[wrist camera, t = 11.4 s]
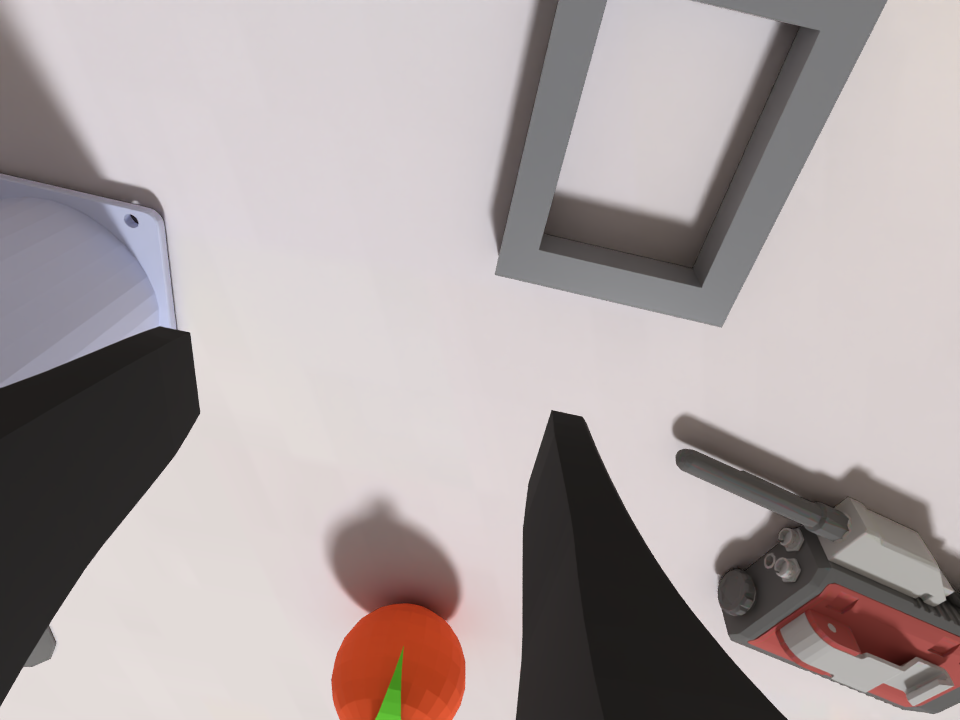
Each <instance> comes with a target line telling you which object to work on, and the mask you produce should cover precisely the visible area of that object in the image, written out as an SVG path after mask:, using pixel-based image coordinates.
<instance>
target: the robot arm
mask: <svg viewBox="0 0 960 720" xmlns="http://www.w3.org/2000/svg"><path fill="white" fill-rule="evenodd" d="M131 215H133V216H135V217H136V218H137V220H138V222H139V224H137V223H135V222H134V221H133V220H132V218H131ZM199 414H200V407H199V399H198V392H197V384H196V376H195V368H194V360H193V352H192V344H191V336H190V333H189V332H185V331H180V330H176V321H175V313H174V304H173V296H172V287H171V278H170V270H169V261H168V253H167V244H166V235H165V227H164V222H163V219H162V217H161V216H160V214H159V213H157V212H156V211H155V210H153V209H151V208H148V207H144V206H139V205H135V204H131V203H126V202H122V201H118V200H113V199H109V198H105V197H100V196H96V195H92V194H87V193H83V192H79V191H75V190H70V189H66V188H62V187H57V186H53V185H49V184H44V183H40V182H36V181H31V180H27V179H23V178H18V177H14V176H10V175H5V174H1V173H0V706H1V704H2V703H3V701H4V699H5V697H6V696H7V694H8V692H9V690H10V689H11V687H12V685H13V683H14V682H15V680H16V678H17V676H18V675H19V673H20V671H21V670H22V668H23V666H24V665H25V663H26V661H27V660H28V658H29V656H30V655H31V653H32V652H33V650H34V648H35V647H36V645H37V643H38V642H39V640H40V638H41V637H42V635H43V634H44V632H45V630H46V629H47V627H48V625H49V624H50V622H51V621H52V619H53V617H54V616H55V614H56V613H57V611H58V610H59V608H60V607H61V605H62V603H63V602H64V600H65V599H66V597H67V596H68V594H69V593H70V591H71V590H72V588H73V587H74V585H75V584H76V582H77V581H78V579H79V578H80V576H81V574H82V573H83V571H84V570H85V568H86V567H87V566H88V564H89V563H90V562H91V560H92V559H93V558H94V556H95V555H96V554H97V552H98V551H99V550H100V548H101V547H102V546H103V544H104V543H105V542H106V541H107V540H108V538H109V537H110V536H111V535H112V533H113V532H114V531H115V530H116V528H117V527H118V526H119V525H120V523H121V522H122V521H123V520H124V519H125V517H126V516H127V515H128V514H129V512H130V511H131V510H132V509H133V507H134V506H135V505H136V504H137V503H138V501H139V500H140V499H141V498H142V496H143V495H144V494H145V493H146V491H147V490H148V489H149V488H150V486H151V485H152V484H153V483H154V481H155V480H156V479H157V478H158V476H159V475H160V474H161V473H162V471H163V470H164V469H165V468H166V466H167V465H168V464H169V462H170V461H171V460H172V459H173V457H174V456H175V455H176V453H177V451H178V450H179V448H180V447H181V445H182V443H183V442H184V440H185V438H186V437H187V435H188V433H189V432H190V430H191V428H192V426H193V425H194V423H195V421H196V419H197V418H198V416H199ZM516 720H788V719H787V718H786V717H785V716H784V715H783V714H782V713H781V712H780V711H779V710H778V709H777V708H776V707H775V706H774V705H773V704H772V703H771V702H770V701H769V700H768V699H767V698H766V696H765V695H764V694H763V693H762V692H761V691H760V690H759V689H758V688H757V687H756V686H755V685H754V684H753V682H752V681H751V680H750V679H749V678H748V677H747V676H746V675H745V674H744V673H743V672H742V671H741V669H740V668H739V667H738V666H737V665H736V664H735V663H734V661H733V660H732V659H731V658H730V657H729V656H728V654H727V653H726V652H725V651H724V650H723V648H722V647H721V646H720V645H719V644H718V642H717V641H716V640H715V639H714V637H713V636H712V635H711V634H710V633H709V631H708V630H707V629H706V628H705V626H704V625H703V624H702V623H701V622H700V620H699V619H698V618H697V617H696V615H695V614H694V613H693V612H692V610H691V609H690V608H689V606H688V605H687V604H686V602H685V601H684V600H683V598H682V597H681V596H680V594H679V593H678V592H677V590H676V589H675V587H674V586H673V584H672V583H671V581H670V580H669V579H668V577H667V576H666V574H665V573H664V571H663V570H662V568H661V567H660V565H659V564H658V562H657V561H656V559H655V558H654V556H653V554H652V553H651V551H650V550H649V548H648V546H647V545H646V543H645V541H644V540H643V538H642V536H641V535H640V533H639V531H638V529H637V528H636V526H635V524H634V523H633V521H632V519H631V517H630V515H629V513H628V512H627V510H626V508H625V506H624V504H623V502H622V500H621V498H620V496H619V494H618V492H617V490H616V488H615V487H614V485H613V483H612V481H611V479H610V476H609V474H608V472H607V470H606V468H605V466H604V464H603V461H602V459H601V457H600V455H599V452H598V450H597V448H596V446H595V443H594V441H593V438H592V436H591V433H590V431H589V429H588V426H587V423H586V422H585V420H584V418H583V417H581V416H577V415H572V414H567V413H563V412H558V411H553V410H552V411H551V414H550V417H549V420H548V423H547V427H546V430H545V433H544V436H543V439H542V442H541V446H540V449H539V452H538V455H537V458H536V461H535V465H534V468H533V471H532V474H531V477H530V480H529V484H528V492H527V500H526V508H525V516H524V525H523V638H522V661H521V672H520V682H519V693H518V703H517V714H516Z"/></svg>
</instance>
